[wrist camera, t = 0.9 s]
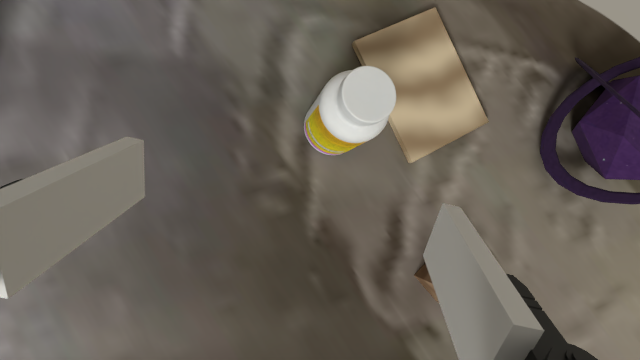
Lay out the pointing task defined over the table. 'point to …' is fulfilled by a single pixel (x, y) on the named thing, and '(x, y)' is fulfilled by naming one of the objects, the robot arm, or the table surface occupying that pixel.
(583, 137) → the decorative bottle
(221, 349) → the table surface
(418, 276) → the walnut block
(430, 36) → the pad
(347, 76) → the supplement bottle
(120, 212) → the robot arm
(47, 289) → the table surface
